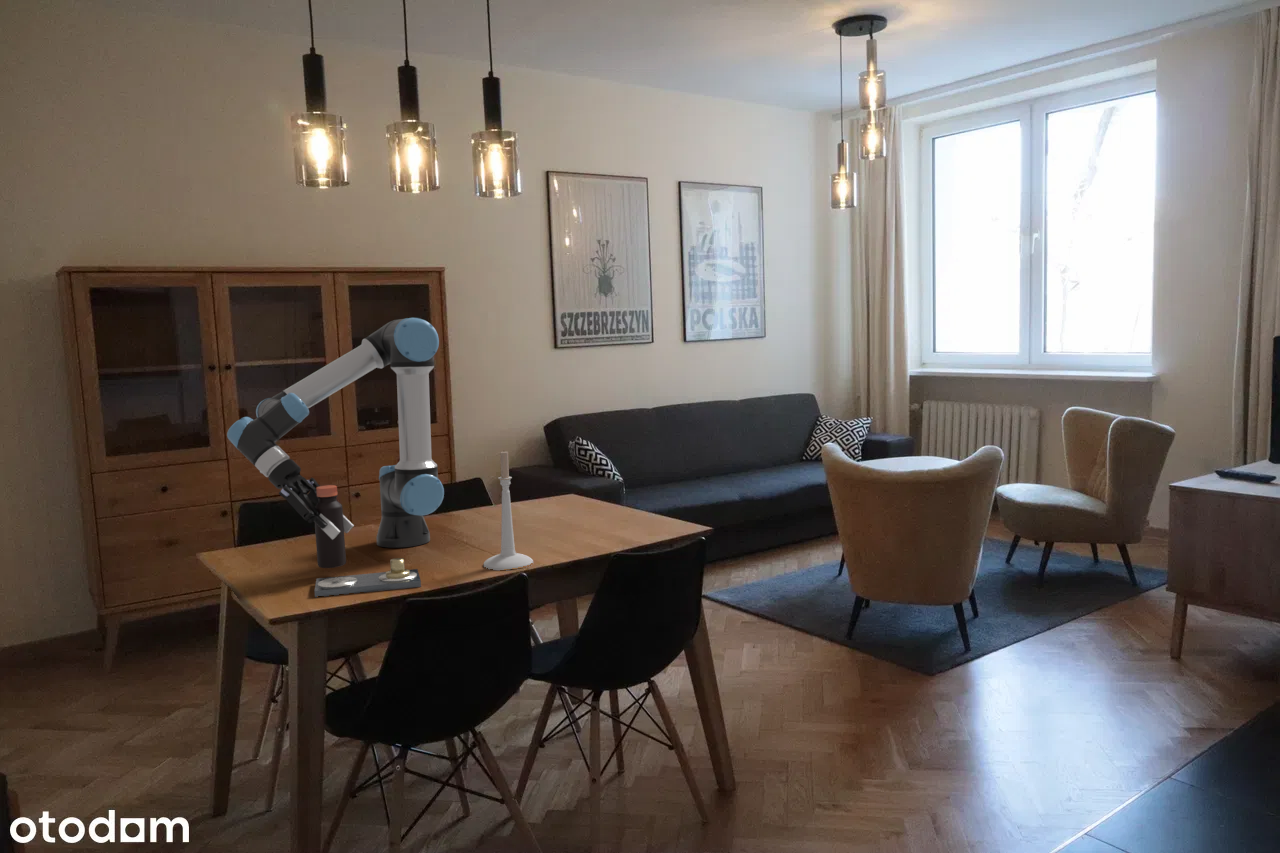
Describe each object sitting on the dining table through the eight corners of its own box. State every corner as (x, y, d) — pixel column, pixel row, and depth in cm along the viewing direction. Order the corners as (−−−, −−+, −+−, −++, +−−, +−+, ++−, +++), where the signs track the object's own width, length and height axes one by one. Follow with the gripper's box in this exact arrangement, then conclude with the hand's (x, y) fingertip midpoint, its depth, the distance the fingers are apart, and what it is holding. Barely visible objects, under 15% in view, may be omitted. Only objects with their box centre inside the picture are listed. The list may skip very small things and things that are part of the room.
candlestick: (529, 570, 235) (525, 452, 232) (479, 571, 236) (474, 453, 233) (536, 558, 248) (532, 446, 245) (488, 558, 248) (483, 447, 245)
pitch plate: (417, 574, 233) (416, 552, 233) (420, 586, 222) (419, 563, 221) (316, 584, 226) (315, 561, 226) (314, 597, 215) (313, 573, 214)
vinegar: (322, 562, 237) (316, 484, 235) (349, 560, 237) (344, 483, 235) (314, 569, 230) (308, 489, 228) (342, 568, 231) (336, 488, 228)
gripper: (291, 472, 244) (352, 534, 243) (247, 485, 225) (314, 551, 224) (308, 452, 242) (370, 514, 241) (265, 463, 224) (333, 530, 222)
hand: (343, 532), depth 232 cm, fingers closed on vinegar, 6 cm apart
